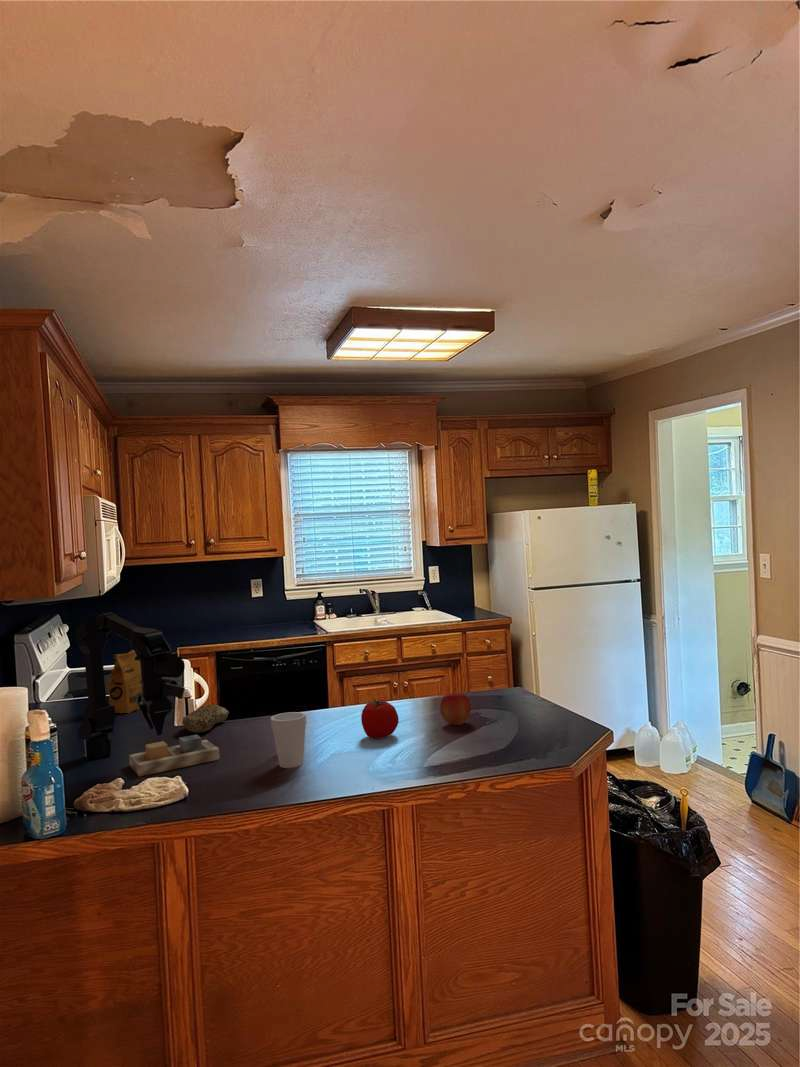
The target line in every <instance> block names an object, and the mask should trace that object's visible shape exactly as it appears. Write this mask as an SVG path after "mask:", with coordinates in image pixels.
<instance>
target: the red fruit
mask: <svg viewBox="0 0 800 1067" xmlns="http://www.w3.org/2000/svg"><path fill="white" fill-rule="evenodd" d="M360 715H361V718H360V720H361V725H362V729H363V731H364V733H365V735H366V736H367V737H368V738H370V739H383V738H388V737H390V736H391V735H392V734H393V733H394V732H395V731H396V729H397V727H398V725H399V715H398V712H397V709H396V707H395V706H394V705H393V704H391V703H390V702H387V700H386V701H384V700H376V699H375V698H373V702H368V703H366V704H365V706H364V707H363V709H362V711H361V714H360Z"/></svg>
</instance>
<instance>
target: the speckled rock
mask: <svg viewBox="0 0 800 1067" xmlns="http://www.w3.org/2000/svg"><path fill="white" fill-rule="evenodd" d="M229 714H230V712H229V710H227V709H226V707H223V706H220V705H217V704H209V705H203V706H202V707H199V708H197V709H195V710H193V711H191V712H190V713H188V714H187V715H185V716H183V718H182V726H183V727H184V728H185V729H187V731H188V732H190V733H194V734H201V732H203V733H205V731H206V732H207V731H209V730H211V729H212V728H213V727H214V726H215V724H218V723H222V722H224V721H225V720H226V719H227V718H228V716H229Z"/></svg>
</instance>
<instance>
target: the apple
mask: <svg viewBox="0 0 800 1067" xmlns="http://www.w3.org/2000/svg"><path fill="white" fill-rule="evenodd" d="M439 711H440V714H441V716H442V719H443V720H444V721H445V722H446V723H448V724H450V725H453V726H462V725H463V724H464V723H466V721H467V720H468V718H469V717H470V715H471V712H472V705H471V701H470V698H469V696H468V695H467V694H466V693H464V692H456V691H454V692H453V693H452V692H450V693H446V694H444V695H443V696H442V697H441V699H440V703H439Z"/></svg>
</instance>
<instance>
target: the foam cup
mask: <svg viewBox="0 0 800 1067" xmlns="http://www.w3.org/2000/svg"><path fill="white" fill-rule="evenodd" d="M306 725H307V715H306V713H304V712H302V711H301V712H300V711H298V712H296V711H291V712H290V711H289V712H283V713H282V712H281V713H277V714H275V715H273V716H271V717H270V727H271V728H272V733H273V739H274V744H275V749H276V754H277V757H278V758H277V759H278V764H279V767H280V768H283V769H284V768H285V769H291V768H297V767H300V766H302V765H303V764H304V759H305V758H304V756H305V754H304V753H305V743H306V742H305V741H306V740H305V738H306Z"/></svg>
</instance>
